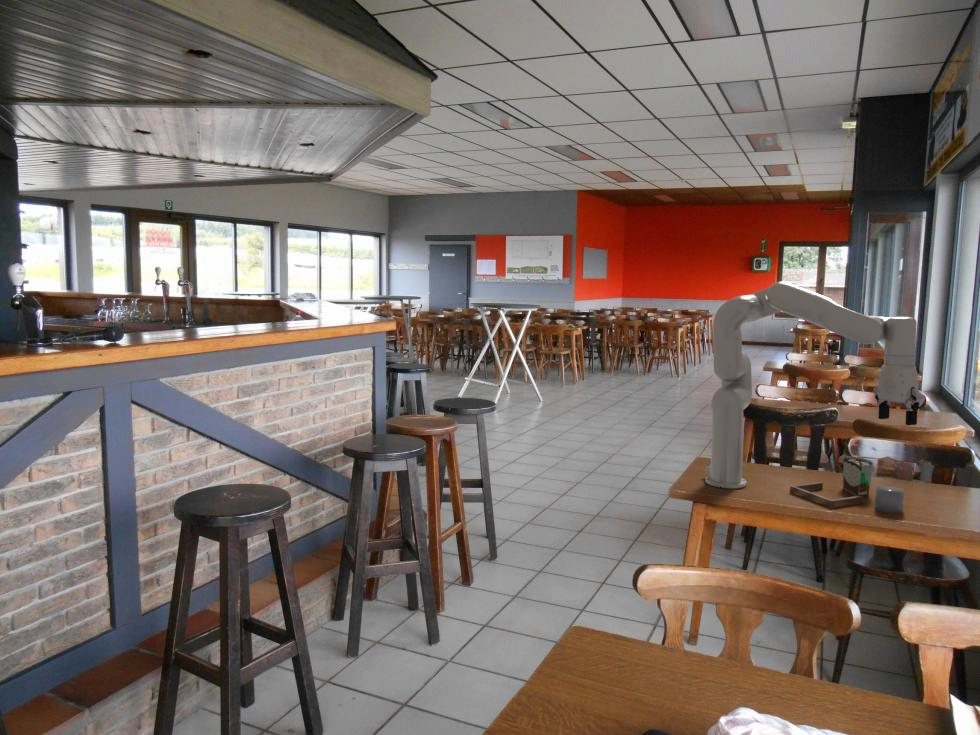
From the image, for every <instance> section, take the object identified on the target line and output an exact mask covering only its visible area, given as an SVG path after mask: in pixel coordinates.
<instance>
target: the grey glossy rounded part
mask: <svg viewBox="0 0 980 735" xmlns="http://www.w3.org/2000/svg"><path fill="white" fill-rule="evenodd" d="M875 488H876V489H875V498H874V499H875V502H874V509H875V510H876V511H878V512H881V513H885V514H890V515H891V514H892V515H897V514H902V513H903V511H904V502H905V490H904V489H902V488H900V487H897V486H896V487H895V486H891V485H879V486H876V487H875Z"/></svg>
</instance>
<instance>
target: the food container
mask: <svg viewBox="0 0 980 735" xmlns="http://www.w3.org/2000/svg"><path fill="white" fill-rule="evenodd" d="M841 461H842V463H843V464H842V469H843V470H842V489H843V490H845V491H847V492H849V493H850V494H852V495H853V496H854V497H855V496H863V498H865V497H868V496H869V494H870V489H871V487H870V486H871V481H872V475H873V472H875V471H876V469H875V468H876V467H875V464H874V462H873V461H872V460H870V459H867V458H862V457H858V456H857V457H856V456H847V455H845V456H844V455H843V457H842V460H841Z"/></svg>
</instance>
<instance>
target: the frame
mask: <svg viewBox="0 0 980 735" xmlns="http://www.w3.org/2000/svg"><path fill="white" fill-rule="evenodd" d="M823 486H824V483H823V482H821V481H818V482H812V483H811V482H810V483H804V484H803V483H802V484H797V485H796V484H795V485H790V486H789V487H790V488H789V493H791V494H793V495H797V496H798V497H802V498H803V499H807V500H810V501H811V502H815V503H817V504H820V505H822V506H825V507H828V508H830V507H831V508H830V509H833V508H835V509H836V508H840V507H848V506H854V505H861V504H863V503H864V497H863V496H855V495H854V496H849V497H848V496H847V497H842V498H836V499H831V498H828V497H824V496H822V495H819V494H817V493H814V492H812V491H819V490H823V488H824V487H823Z"/></svg>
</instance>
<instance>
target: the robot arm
mask: <svg viewBox="0 0 980 735" xmlns="http://www.w3.org/2000/svg"><path fill="white" fill-rule="evenodd" d="M780 312H782V313H785V314H788V315H790V316H792V317H795V318H797V319H798V318H799V319H801V320H803V321H805V322H808V323H810V324H812V325H815V326H816V327H817V326H818V327H819V328H821V329H824V330H827V331H829V332H831V333H834V334H836V335H839V336H842V337H843V338H846V339H849V340H851V341H854V342H856V343H859V344H862V345H863V344H864V345H872V344H874V343H877V342H884V356H883V357H882V359H883V364H882V365H881V368H880V371H879V376H878V384H877V386H876V387H874V388H873V389H872V392H873V394H874V398H875V400H876V401H877V402H876V404H877V405H878V419H879V420H887V419H889V418H890V412H891V411H890V408H891V405H890V404H889V403H890V402H891V403H896V404H904V405H905V407H906V409H907V410H906V411H905V425H906V426H916V425H917V424H918V412H919V411H920V408H921V407H922V406H923V403H924V402H925V400H926V395H924V394H923V393H921V392H920V391H919V384H918V383H919V381H918V380H919V379H918V371H917V367H916V350H917V349H916V345H917V324H918V323H917V320H916V318H914V317H911V316H892V317H891V316H890V317H887V316H886V317H885V316H877V315H865V314H862V313H860V312H856V311H854V310H851V309H850V308H847V307H844V306H842V305H840V304H838V303H836V302H835V301H834V300H832V299H831V298H830V297H828V296H825V295H824V294H823V295H822V294H820V293H817V292H814V291H812V290H809V289H805V288H803V287H801V286H798V285H797V284H796V283H794V282H792V281H787V280H781V281H776V282H774V283H772V284H771V285H770V286H769V287H767V288H764V289H761V290H758V291H756V292H753V293H750V294H745V295H743V294H742V295H737V296H735V297H733V298H731V299H728V300H726V301H725V302H724V303H723V304H721V305H720V307H719V308H718V309H717V311H716V313H715V314H714V317H713V318H714V319H713V322H712V328H713V329H712V334H713V336H712V337H713V338H712V339H713V342H712V343H713V345H712V347H713V350H712V351H713V372H714V374H715V376H716V377H717V378H718V379H719V380H720V381H721V387H719V388H718V389H717V390H716V391H715V392H714V393H713V396H712V398H711V404H710V405H711V406H710V407H711V421H712V422H711V424H712V426H711V447H710V448H711V454H710V464H709V465H708V466H705V467H704V470H705V471H706V472H708V475H707V476H706V477H705V480H704V481H705V483H706V484H707V485H708V486H712V487H715V488H720V487H721V488H720V489H742V488H744V487H746V486H747V480H746V479H745V478H743V460H744V458H743V456H744V455H743V454H744V453H743V452H744V433H745V427H744V426H745V422H744V410H745V409H746V408H748V407H749V405H750V404H751V402H752V399H753V398H752V397H753V395H752V394H753V388H752V386H753V385H752V384H753V383H752V382H753V381H752V363H751V360H750V357H749V355H748V353H746V352H745V351H743V346H742V345H743V338H742V337H743V335H742V330H741V329H742V326H743V325H744V324H747V323H751V322H755V321H758V320H761V319H765V318H766V317H767V318H768V317H770V316H772V315H775V314H778V313H780Z"/></svg>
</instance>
